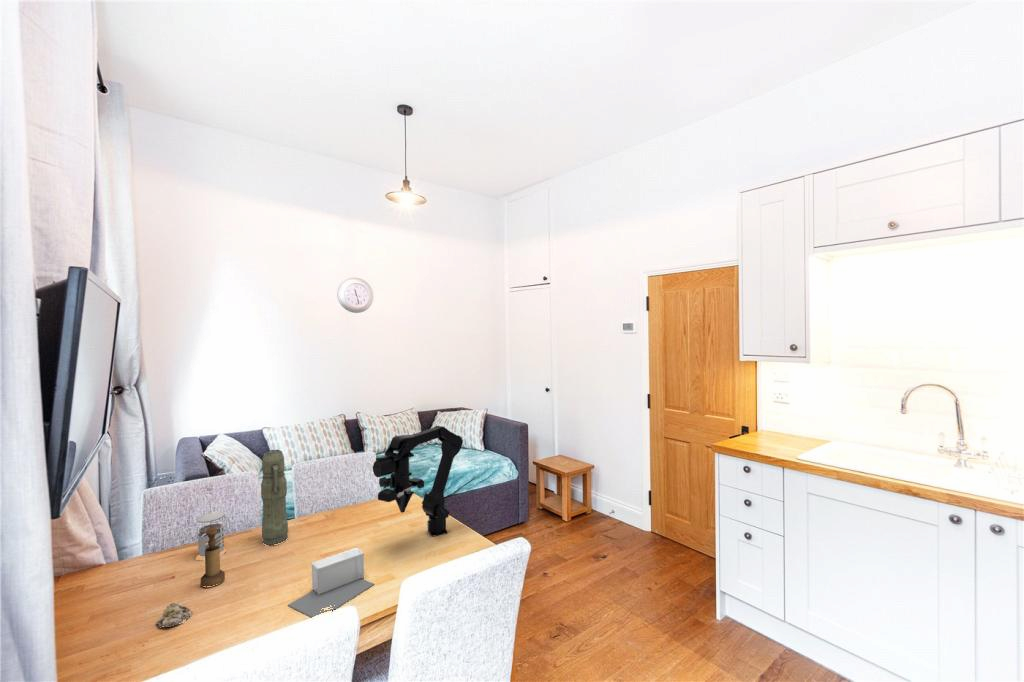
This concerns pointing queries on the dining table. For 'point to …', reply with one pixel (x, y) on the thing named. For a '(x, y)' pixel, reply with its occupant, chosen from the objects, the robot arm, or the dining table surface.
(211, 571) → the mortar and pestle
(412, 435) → the robot arm
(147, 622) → the dining table surface
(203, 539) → the french press
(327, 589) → the skincare box
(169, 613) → the mineral rock
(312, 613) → the mat
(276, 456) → the thermos
